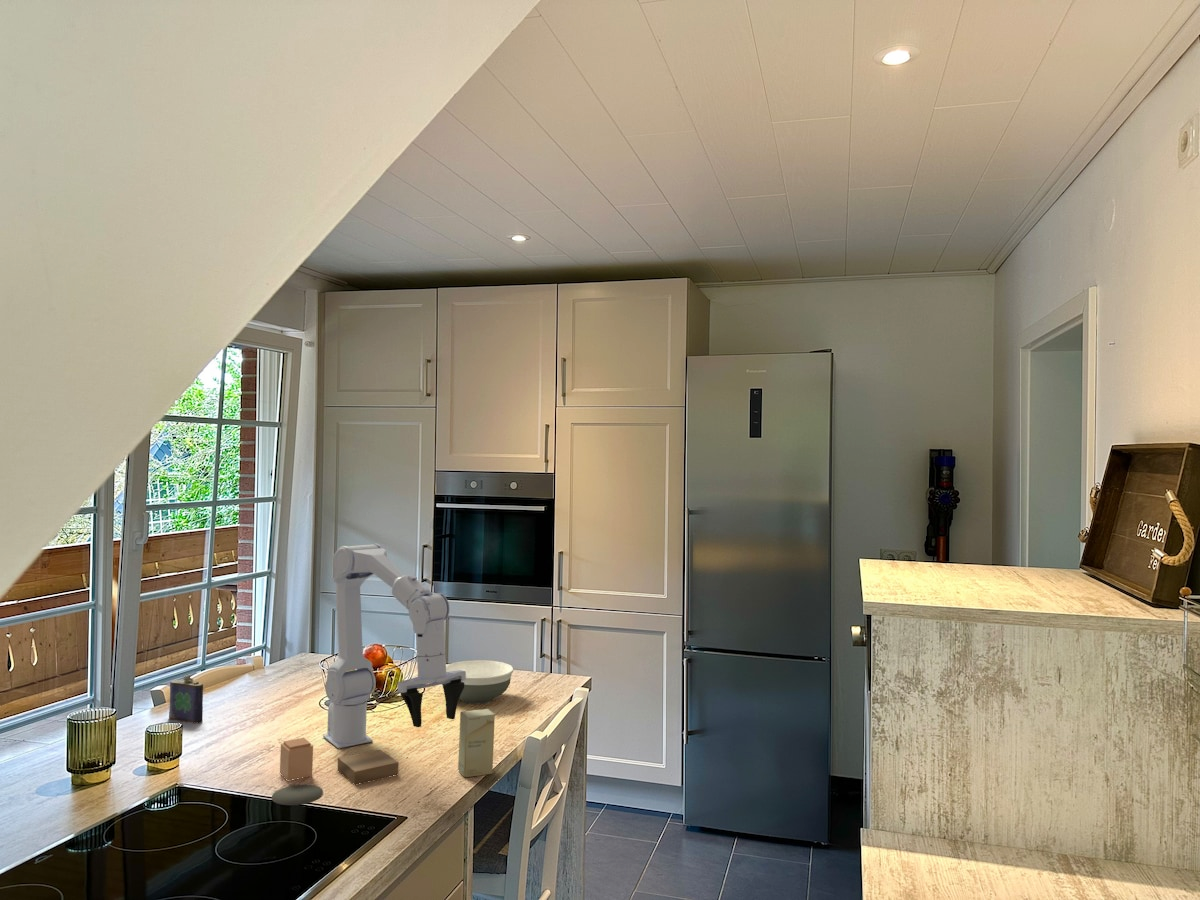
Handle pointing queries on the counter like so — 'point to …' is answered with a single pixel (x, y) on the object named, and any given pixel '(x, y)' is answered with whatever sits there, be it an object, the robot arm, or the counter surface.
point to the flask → (186, 700)
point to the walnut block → (367, 766)
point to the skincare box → (476, 742)
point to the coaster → (297, 794)
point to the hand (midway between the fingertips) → (434, 722)
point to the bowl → (483, 679)
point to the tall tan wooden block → (296, 759)
